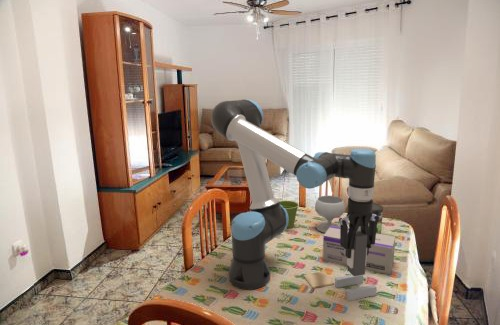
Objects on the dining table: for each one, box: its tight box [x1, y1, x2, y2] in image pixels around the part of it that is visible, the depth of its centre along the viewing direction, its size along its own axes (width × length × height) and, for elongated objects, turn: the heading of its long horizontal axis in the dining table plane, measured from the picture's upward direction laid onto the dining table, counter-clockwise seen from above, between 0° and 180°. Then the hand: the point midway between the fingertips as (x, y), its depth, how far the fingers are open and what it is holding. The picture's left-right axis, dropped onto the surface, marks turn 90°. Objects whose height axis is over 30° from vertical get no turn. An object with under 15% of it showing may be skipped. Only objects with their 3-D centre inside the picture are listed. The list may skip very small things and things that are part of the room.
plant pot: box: [279, 200, 300, 229], centre depth 165 cm, size 12×12×11 cm
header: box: [334, 274, 377, 302], centre depth 112 cm, size 10×9×3 cm
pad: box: [302, 271, 335, 289], centre depth 119 cm, size 8×8×1 cm
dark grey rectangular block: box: [346, 230, 367, 276], centre depth 110 cm, size 4×4×14 cm
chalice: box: [314, 195, 346, 234], centre depth 160 cm, size 14×14×15 cm
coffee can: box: [358, 202, 384, 234], centre depth 152 cm, size 10×10×14 cm
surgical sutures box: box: [322, 226, 396, 276], centre depth 130 cm, size 25×11×11 cm, turn 62°
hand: (356, 265), depth 111 cm, fingers closed on dark grey rectangular block, 4 cm apart
